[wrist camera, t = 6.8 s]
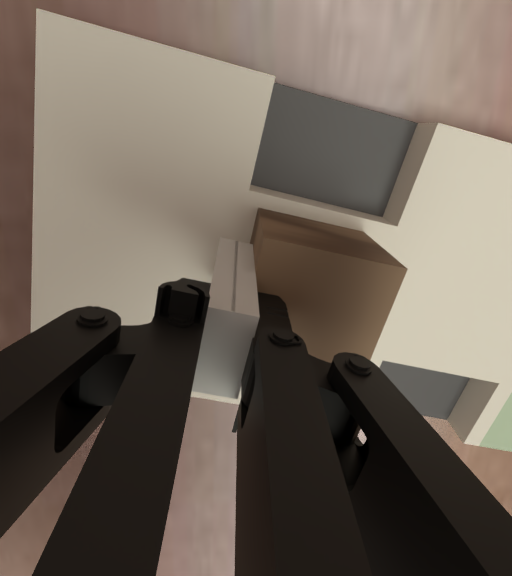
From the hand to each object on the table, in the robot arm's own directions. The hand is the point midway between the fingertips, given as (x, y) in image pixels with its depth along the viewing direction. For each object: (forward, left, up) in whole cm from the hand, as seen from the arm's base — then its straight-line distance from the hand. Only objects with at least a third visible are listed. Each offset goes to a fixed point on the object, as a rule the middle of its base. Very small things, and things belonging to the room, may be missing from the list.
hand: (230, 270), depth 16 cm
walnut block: (+3, 0, -2) cm, 4 cm away
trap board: (+7, 0, -5) cm, 8 cm away
